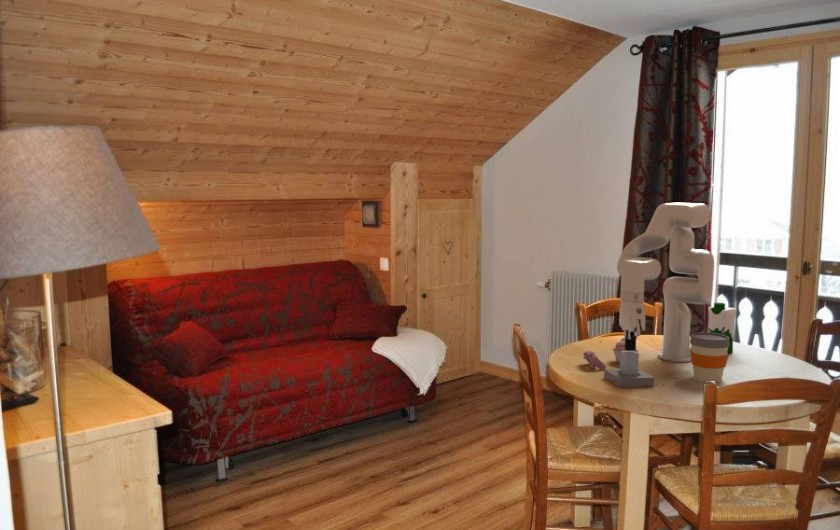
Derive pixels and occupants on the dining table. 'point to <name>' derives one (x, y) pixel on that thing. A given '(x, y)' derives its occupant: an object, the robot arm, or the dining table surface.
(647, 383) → the socket
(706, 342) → the reusable coffee cup
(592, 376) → the dining table surface
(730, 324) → the milk carton
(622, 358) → the plug
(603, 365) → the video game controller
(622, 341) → the cupcake
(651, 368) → the dining table surface
